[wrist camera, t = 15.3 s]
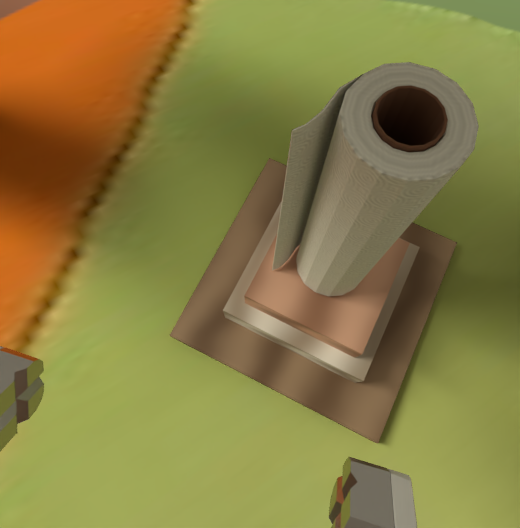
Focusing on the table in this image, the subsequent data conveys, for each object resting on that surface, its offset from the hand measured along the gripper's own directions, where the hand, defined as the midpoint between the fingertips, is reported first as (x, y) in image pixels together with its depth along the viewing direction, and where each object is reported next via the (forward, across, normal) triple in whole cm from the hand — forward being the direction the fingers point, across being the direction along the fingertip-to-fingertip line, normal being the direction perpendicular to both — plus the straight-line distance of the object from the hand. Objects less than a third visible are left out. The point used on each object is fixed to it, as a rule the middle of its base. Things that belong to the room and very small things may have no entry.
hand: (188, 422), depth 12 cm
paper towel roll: (+28, -4, +8) cm, 30 cm away
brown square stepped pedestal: (+33, -5, +14) cm, 36 cm away
